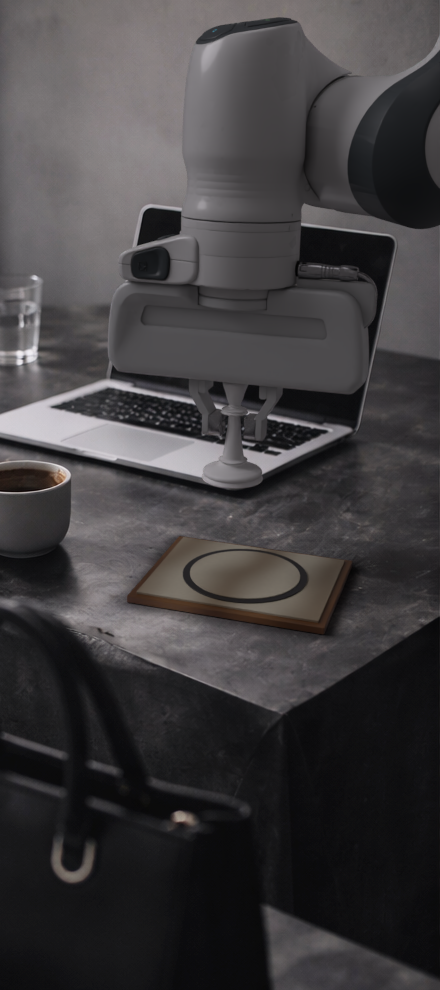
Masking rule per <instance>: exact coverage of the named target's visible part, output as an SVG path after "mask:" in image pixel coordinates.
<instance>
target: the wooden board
mask: <svg viewBox="0 0 440 990" xmlns="http://www.w3.org/2000/svg"><path fill="white" fill-rule="evenodd" d="M352 567H353V560H350V559H344V558H343V559H342V558H336V557H329V556H320V555H315V554H307V553H300V552H295V551H294V552H293V551H288V550H287V551H286V550H280V549H273V548H267V547H259V546H253V545H247V544H238V543H231V542H225V541H217V540H212V539H203V538H198V537H197V538H196V537H190V536H183V535H179V536H178V537H177V538H176V539H175V541H174V542H173V543H171V545H170V546H169V547H168V548H167V549H166V551H165V552H164V553H163V554H162V555H161V556H160V558H159V559H158V560H157V561H155V563H154V565H152V567H151V568H150V569H149V570H148V571H147V572H146V574H145V575H143V576H142V578H141V579H140V580H139V581H138V582H137V584H136V585H135V586H134V587H133V588H132V589H131V591H130V592H129V593H128V594H127V595H126V602H127V603H129V604H136V605H143V606H148V607H155V608H161V609H164V610H165V609H167V610H171V611H172V610H173V611H179V612H184V613H189V614H195V615H196V614H197V615H202V616H208V617H216V618H221V619H227V620H232V621H233V620H234V621H240V622H244V623H245V622H246V623H251V624H258V625H263V626H269V627H276V628H281V629H286V630H287V629H288V630H294V631H299V632H305V633H311V634H319V635H325V634H326V631H327V629H328V627H329V623H330V621H331V618H332V616H333V613H334V611H335V609H336V607H337V604H338V602H339V599H340V598H341V594H342V592H343V590H344V587H345V585H346V582H347V580H348V577H349V575H350V572H351V570H352Z"/></svg>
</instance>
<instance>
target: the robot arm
mask: <svg viewBox="0 0 440 990" xmlns="http://www.w3.org/2000/svg"><path fill="white" fill-rule="evenodd" d="M182 111H183V112H182V113H183V114H182V135H181V136H182V138H181V139H182V141H181V143H182V145H181V153H182V158H183V159H182V160H183V162H184V166H185V171H186V179H187V180H186V191H185V196H184V200H183V203H182V207H181V212H180V215H181V217H180V231H179V234H175V233H172V234H167V235H162V236H161V237H158V238H157V239H156V240H154V241H153V240H152V241H150V242H146V243H143V244H139V245H136V246H133V247H130V248H128V249H126V250H124V251H123V252H121V253H120V254H119V255H118V259H117V268H118V269H117V270H118V274H119V276H120V278H122V279H123V280H126V281H124V282H122V283H121V284H120V285H118V287H117V288H116V289H115V291H114V293H113V295H112V298H111V302H110V308H109V314H108V329H107V358H108V359H109V361H110V363H111V364H112V366H113V367H114V368H115V370H116V371H117V372H119V373H127V374H137V375H138V374H139V375H146V376H147V375H148V376H159V377H168V378H177V379H178V378H179V379H188V393H189V395H190V397H191V399H192V401H193V402H194V404H195V406H196V408H197V410H198V412H199V413H200V414H201V434H202V435H206V436H215V437H217V436H218V437H222V435H223V434H224V433H225V431H226V426H227V425H226V422H225V420H226V418H227V415H224V414H222V413H221V410H222V409H219V408H218V409H217V407H216V405H215V403H214V401H213V398H212V396H211V394H210V392H209V390H210V389H211V388H213V387H214V382H219V383H223V382H228V383H238V384H248V386H249V385H250V386H258V387H259V388H258V398H259V399H260V400H265V401H264V403H263V405H262V406H261V408H260V409H259V411H258V412H257V413H255V412H248V414H247V415H246V416H244V418H243V428H244V431H243V435H242V436H243V439H244V440H248V441H250V440H251V441H258V442H263V441H264V440H265V438H266V437H267V432H268V431H267V430H268V417H269V415H270V414H271V413H272V411H273V410H274V408H275V406H276V405H277V404H278V402H279V401H280V399H281V398H282V396H283V394H284V393H283V391H284V389H290V390H298V391H299V390H300V391H309V392H318V393H319V392H320V393H329V394H330V393H331V394H339V395H353V394H354V393H356V392H357V391H358V390H359V389H360V388H361V387H362V386H363V385H364V384H365V383H366V381H367V379H368V376H369V368H370V366H369V365H370V341H369V339H370V338H369V326H370V325H371V324H372V322H373V321H374V320H375V317H376V314H377V305H378V289H377V288H378V287H377V284H376V283H375V282H374V280H373V279H372V278H371V276H369V275H368V274H367V273H364V272H362V271H360V268H359V267H358V266H354V265H349V264H342V265H330V264H325V263H319V262H318V263H317V262H306V261H300V252H301V251H300V250H301V249H300V248H301V234H302V233H301V231H302V218H303V217H302V215H303V213H302V208H303V206H304V205H307V206H310V207H315V208H320V209H325V210H333V211H336V212H338V213H339V212H340V213H344V214H351V215H357V216H367V217H373V218H375V219H378V220H381V221H385V222H388V223H392V224H395V225H399V226H403V227H405V228H409V229H414V230H426V229H427V230H429V229H433V228H436V227H438V226H440V34H439V35H438V37H437V40H436V42H435V44H434V46H433V48H432V49H431V51H429V53H428V54H427V55H426V56H425V57H424V58H423V59H421V60H420V61H418V62H417V63H415V64H414V65H413V66H411V67H408V68H407V69H405V70H403V71H401V72H398V73H395V74H386V75H385V74H384V75H353V72H352V71H350V70H348V69H346V68H344V67H343V66H340V65H339V64H337V63H335V62H334V61H333V60H331V59H330V58H328V57H327V56H326V55H325V54H324V53H322V51H320V50H319V49H318V48H317V46H315V45H314V43H312V42H311V40H309V38H308V37H307V36H306V34H305V32H304V30H303V26H302V25H301V23H300V22H299V21H297V20H295V19H292V18H290V17H283V16H282V17H280V16H277V17H270V18H262V19H255V20H249V21H248V20H247V21H240V22H233V23H225V24H220V25H216V26H213V27H210V28H208V29H207V30H205V31H204V32H203V33H202V34H201V35H199V37H198V38H197V39H196V40H195V42H194V44H193V47H192V50H191V53H190V56H189V61H188V66H187V72H186V77H185V87H184V98H183V109H182ZM359 279H362V280H364V281H358V280H359Z"/></svg>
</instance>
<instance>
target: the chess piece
mask: <svg viewBox="0 0 440 990" xmlns="http://www.w3.org/2000/svg"><path fill="white" fill-rule="evenodd" d="M248 386H249V385H248V384H238V383H228V382H222V387H223V390H224V393H225V397H226V399H227V403H228V404H227V405H225V406H223V407H222V408H221V409H220V410H221V413H222V414H224V415H226V417H227V425H226V433H225V439H224V446H223V450H222V455H219V457H218V460H213V461H211V462H208V463H207V464H205V466H203V469H202V475H201V479H202V480H203V482H205V483H206V484H208V485H210V486H213V487H217V488H222V489H231V490H233V489H235V490H236V489H237V490H238V489H248V488H252V487H256V486H258V485H259V484H261V483H262V482H263V480H264V477H263V470H262V468H261V467H260V466H259V465H257V464H256V463H254V462H251V461H248V457H247V456H245V455H244V448H243V447H244V446H243V437H242V436H243V435H242V423H241V417H243V416H244V417H245V416H247V415H248V414H249V411H248V408H247V407H246V406H243V405H242V403H243V400H244V397H245V394H246V391H247V389H248Z"/></svg>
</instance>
